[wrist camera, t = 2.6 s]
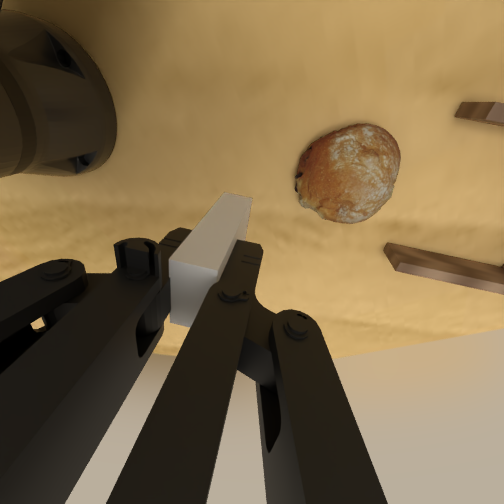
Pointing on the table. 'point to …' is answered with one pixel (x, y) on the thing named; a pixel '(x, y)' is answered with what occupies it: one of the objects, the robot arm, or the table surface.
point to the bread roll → (349, 173)
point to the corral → (444, 265)
